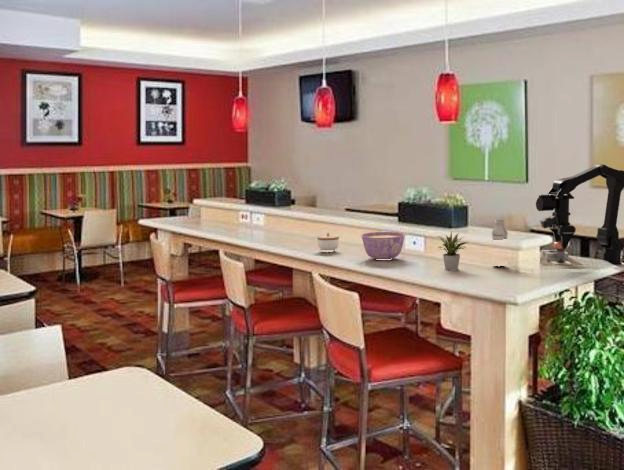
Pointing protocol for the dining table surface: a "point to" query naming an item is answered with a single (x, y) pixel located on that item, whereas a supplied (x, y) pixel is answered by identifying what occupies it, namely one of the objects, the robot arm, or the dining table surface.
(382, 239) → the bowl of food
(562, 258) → the copper knob
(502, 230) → the plastic bottle
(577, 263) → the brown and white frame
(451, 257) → the house plant
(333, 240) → the lidded jar
